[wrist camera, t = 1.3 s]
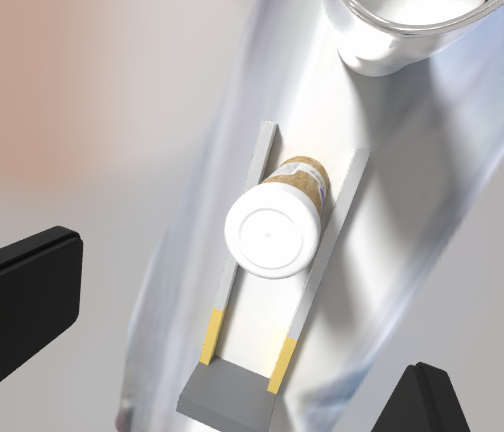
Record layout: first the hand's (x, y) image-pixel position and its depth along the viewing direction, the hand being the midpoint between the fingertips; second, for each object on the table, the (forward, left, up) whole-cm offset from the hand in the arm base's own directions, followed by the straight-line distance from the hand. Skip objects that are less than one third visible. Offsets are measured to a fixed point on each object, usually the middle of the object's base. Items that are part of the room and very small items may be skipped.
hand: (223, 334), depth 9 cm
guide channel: (+9, 0, -20) cm, 22 cm away
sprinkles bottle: (0, 0, -20) cm, 20 cm away
